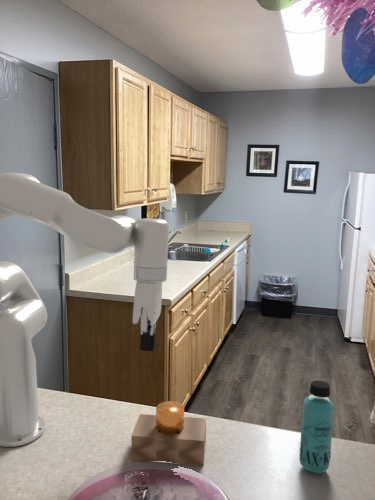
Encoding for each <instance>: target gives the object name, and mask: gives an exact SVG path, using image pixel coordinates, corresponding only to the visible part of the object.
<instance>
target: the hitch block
mask: <svg viewBox="0 0 375 500" xmlns="http://www.w3.org/2000/svg"><path fill="white" fill-rule="evenodd" d="M206 433H207V418H205V417H191V416H190V417H187V416H184V429H183V430H182V431H181V432H179V433H178V434H173V435H167V434H163V433H160V432H159V431H158V430H157V429H156V414H143V413H140V414H139V415H138V418H137V420H136V423H135V426H134V429H133V430H132V433H131V461H134V462H143V461H166V462H172V463H177V464H176V465H184V466H185V465H188V466H201V467H204V465H205V464H204V463H205V453H206V452H205V451H206V441H207V440H206V439H207V437H206V435H207V434H206Z"/></svg>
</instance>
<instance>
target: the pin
mask: <svg viewBox="0 0 375 500" xmlns="http://www.w3.org/2000/svg"><path fill="white" fill-rule="evenodd" d="M155 415H156V429H157V430H158V431H159V432H160V433H163V434H167V435H173V434H178V433H179V432H181V431H182V430H183V429H184V417H185V406H184V405H183V404H182V403H181V402H179V401H173V400H170V401H169V400H168V401H167V400H166V401H162V402H160V403H158V404H157V406H156V408H155Z"/></svg>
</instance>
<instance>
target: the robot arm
mask: <svg viewBox="0 0 375 500" xmlns="http://www.w3.org/2000/svg"><path fill="white" fill-rule="evenodd" d="M16 215H18V216H20V217H24V218H26V219H29V220H31V221H33V222H36V223H39V224H41V225H43V226H47V227H49V228H52V229H53V230H55V231H56V232H58V233H59V234H61V235H62V236H64V237H66V238H67V239H70V240H71V241H73V242H76V243H77V244H80V245H83V246H85V247H88V248H90V249H94V250H96V251H99V252H102V253H106V254H118V253H120V252H123V250H125V249H127V248H133V247H134V259H133V260H134V262H133V280H134V281H135V283H136V284H135V290H134V296H133V297H134V298H133V311H132V324H133V325H137V324H138V323H139V322H140V339H139V340H140V343H139V344H140V345H139V346H140V347H139V349H140V351H142V352H143V351H144V352H154V351H155V348H156V328H157V327H156V326H157V324H156V323H157V321H158V319H159V317H160V315H161V312H162V299H163V298H162V297H163V282H166V281H167V278H168V277H167V276H168V255H169V254H168V253H169V231H170V229H169V227H170V226H169V223H168V222H167V220H165V219H161V218H152V217H151V218H149V217H148V218H147V217H146V218H140V217H139V218H138V217H132V216H128V215H127V216H126V215H114V216H111V217H110V216H106V215H104V214H101V213H98V212H96V211H95V210H91V209H88V208H86V207H84V206H82V205H80V204H78V203H77V202H76V201H75V200H74V199H73V198H72V196H71V195H70V194H69V193H67V192H65V191H63V190H59V189H57V188H54V187H52V186H49V185H47V184H45V183H41V182H40V181H39V179H37V177H35V176H34V175H31V174H28V173H23V172H4V173H3V172H2V173H0V222H1V221H5V220H7V219H8V218H11V217H13V216H16ZM0 305H2V307H3V309H2V310H0V447H6V448H12V447H13V448H14V447H20V446H23V445H27V444H29V443H32V442H33V441H36V440H37V439H38V438H40V437H41V436H42V435H43V434H44V432H45V430H46V422H45V421H46V420H44V418H42V417H41V416H39V400H38V377H37V374H38V373H37V360H36V355H35V352H34V348H33V342H32V339H33V338H34V337H35V336H36V335H37V334H38V333H40V331H41V330H43V328H44V327H45V326H46V324H47V322H48V321H47V320H48V311H47V307H46V305H45V303H44V302H43V299H42V298H41V296H40V295H39V293H38V291H37V289H36V288H35V287H34V285H33V284H32V281H31V280H30V278H29V276H28V275H27V274H26V272H25V271H24V270H23V269H22V268H21V267H20V266H19V265H17V264H16V263H13V262H10V261H0Z"/></svg>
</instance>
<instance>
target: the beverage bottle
mask: <svg viewBox="0 0 375 500" xmlns="http://www.w3.org/2000/svg"><path fill="white" fill-rule="evenodd" d="M309 393H310V395H308V396H306V397H305V398H304V400H303V407H302V420H301V421H302V422H301V423H302V424H301V429H300V430H301V432H300V442H299V463H300V465H301V467H303V469H305V470H307V471H309V472H312V473H318V474H319V473H320V474H321V473H324V472H326V471H327V470H329V467H330V462H331V458H332V457H331V456H332V451H331V450H332V435H333V434H332V433H333V427H334V425H333V423H334V421H333V419H334V411H335V405H334V403H333V401H332V400H330V398H329V397H330V396H331V386H330V383H328V382H326V381H324V380H313V381H311V382H310V387H309Z"/></svg>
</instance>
